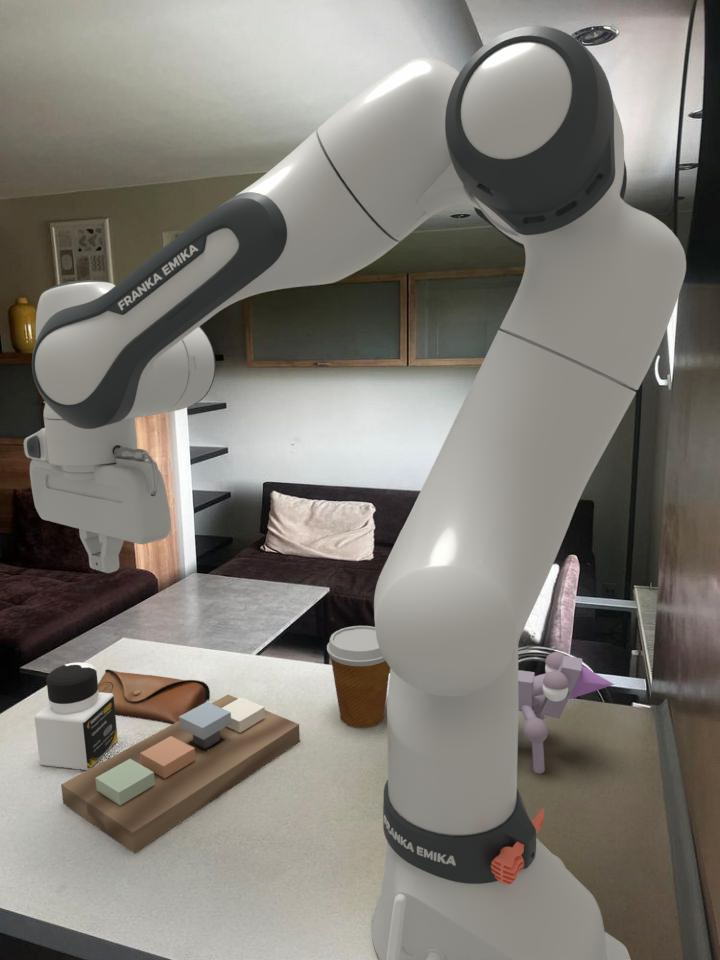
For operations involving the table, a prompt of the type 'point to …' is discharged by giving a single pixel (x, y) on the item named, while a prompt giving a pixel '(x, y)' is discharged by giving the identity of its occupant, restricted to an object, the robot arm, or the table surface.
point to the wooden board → (179, 779)
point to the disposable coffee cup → (359, 675)
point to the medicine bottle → (75, 719)
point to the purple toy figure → (552, 696)
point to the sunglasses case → (153, 695)
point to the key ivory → (244, 714)
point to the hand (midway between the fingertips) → (104, 569)
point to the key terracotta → (167, 756)
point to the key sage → (125, 781)
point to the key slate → (205, 723)
